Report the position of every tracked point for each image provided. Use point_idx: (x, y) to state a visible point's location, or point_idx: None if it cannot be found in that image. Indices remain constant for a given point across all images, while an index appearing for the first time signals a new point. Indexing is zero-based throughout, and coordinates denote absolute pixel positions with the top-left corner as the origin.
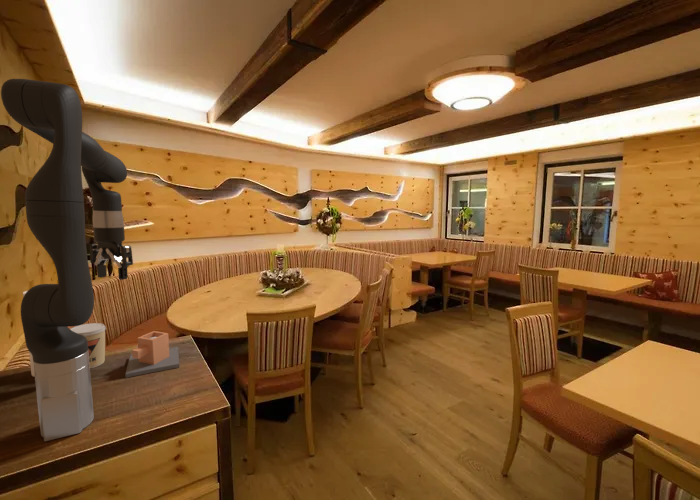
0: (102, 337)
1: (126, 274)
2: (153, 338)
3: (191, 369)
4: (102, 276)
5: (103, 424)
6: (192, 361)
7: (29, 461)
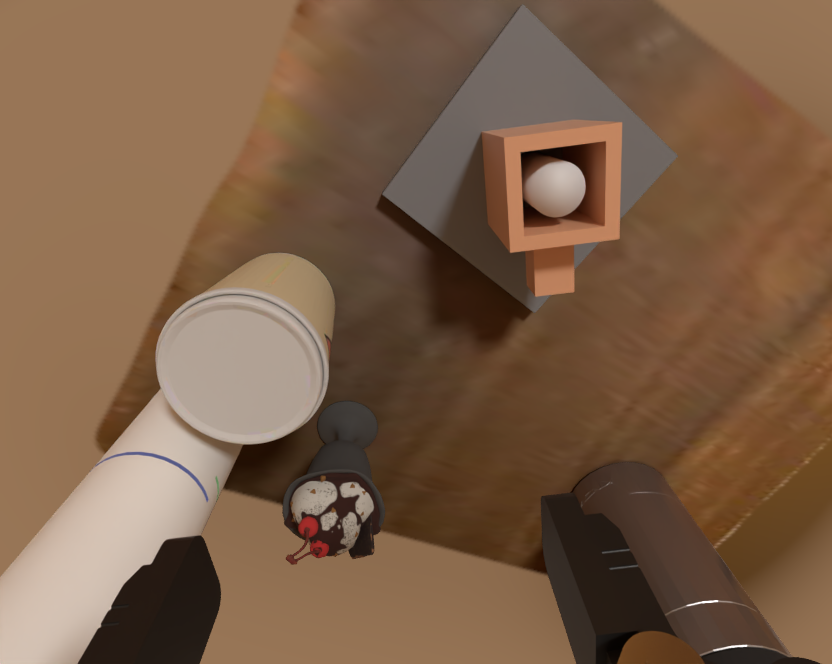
0: (318, 318)
1: (624, 556)
2: (560, 188)
3: (735, 142)
4: (212, 576)
5: (699, 469)
6: (688, 78)
7: None
